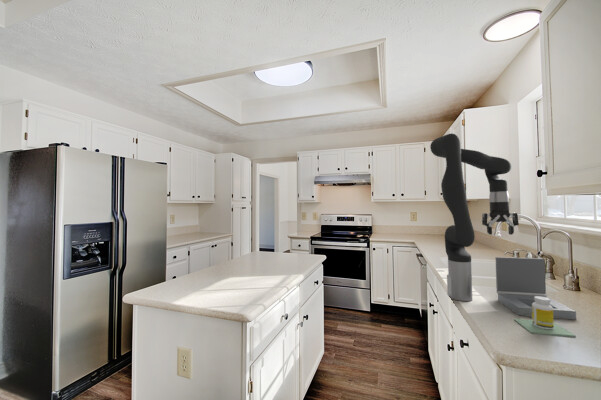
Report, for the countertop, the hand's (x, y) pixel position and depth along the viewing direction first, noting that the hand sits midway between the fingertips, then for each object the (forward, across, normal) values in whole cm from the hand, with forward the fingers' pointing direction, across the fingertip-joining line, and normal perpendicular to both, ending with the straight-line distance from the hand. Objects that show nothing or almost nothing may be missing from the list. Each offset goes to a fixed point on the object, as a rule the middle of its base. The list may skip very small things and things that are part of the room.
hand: (500, 234), depth 125 cm
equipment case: (+28, +2, -20) cm, 34 cm away
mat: (+28, -5, -38) cm, 47 cm away
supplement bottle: (+28, -5, -38) cm, 47 cm away
